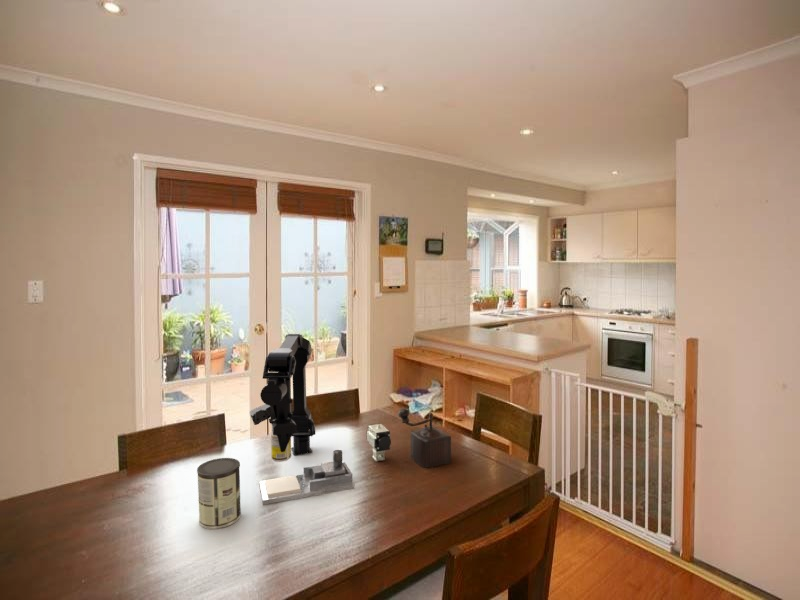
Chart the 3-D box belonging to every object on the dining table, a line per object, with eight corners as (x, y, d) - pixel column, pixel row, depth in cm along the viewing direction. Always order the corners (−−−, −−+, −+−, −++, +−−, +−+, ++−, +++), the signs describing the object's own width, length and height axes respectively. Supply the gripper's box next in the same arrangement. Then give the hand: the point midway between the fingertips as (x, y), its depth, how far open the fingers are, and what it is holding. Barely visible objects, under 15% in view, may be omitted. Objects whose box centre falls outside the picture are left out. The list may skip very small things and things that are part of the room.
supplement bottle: (283, 453, 137) (283, 419, 137) (295, 458, 134) (294, 423, 133) (267, 459, 133) (266, 424, 132) (278, 464, 129) (278, 428, 129)
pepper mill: (434, 451, 163) (435, 401, 162) (451, 463, 153) (452, 410, 152) (395, 459, 156) (395, 407, 155) (410, 472, 146) (411, 417, 145)
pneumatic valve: (379, 451, 163) (379, 418, 162) (391, 464, 152) (391, 429, 151) (364, 454, 160) (364, 420, 160) (375, 467, 150) (375, 431, 149)
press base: (259, 485, 137) (259, 473, 137) (344, 471, 147) (343, 460, 146) (262, 504, 126) (262, 491, 126) (354, 488, 136) (354, 476, 135)
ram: (311, 476, 140) (310, 451, 140) (339, 471, 143) (339, 446, 143) (315, 485, 134) (315, 459, 133) (345, 480, 137) (345, 455, 137)
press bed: (265, 482, 136) (265, 480, 136) (295, 477, 140) (295, 475, 140) (268, 496, 128) (267, 494, 128) (300, 491, 131) (300, 488, 131)
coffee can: (217, 505, 126) (216, 455, 125) (249, 511, 123) (248, 460, 121) (189, 525, 116) (187, 471, 115) (222, 532, 113) (221, 477, 112)
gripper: (249, 389, 138) (250, 440, 139) (253, 407, 120) (254, 465, 121) (287, 386, 142) (288, 435, 143) (296, 403, 124) (297, 458, 125)
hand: (281, 447), depth 133 cm, fingers closed on supplement bottle, 6 cm apart
